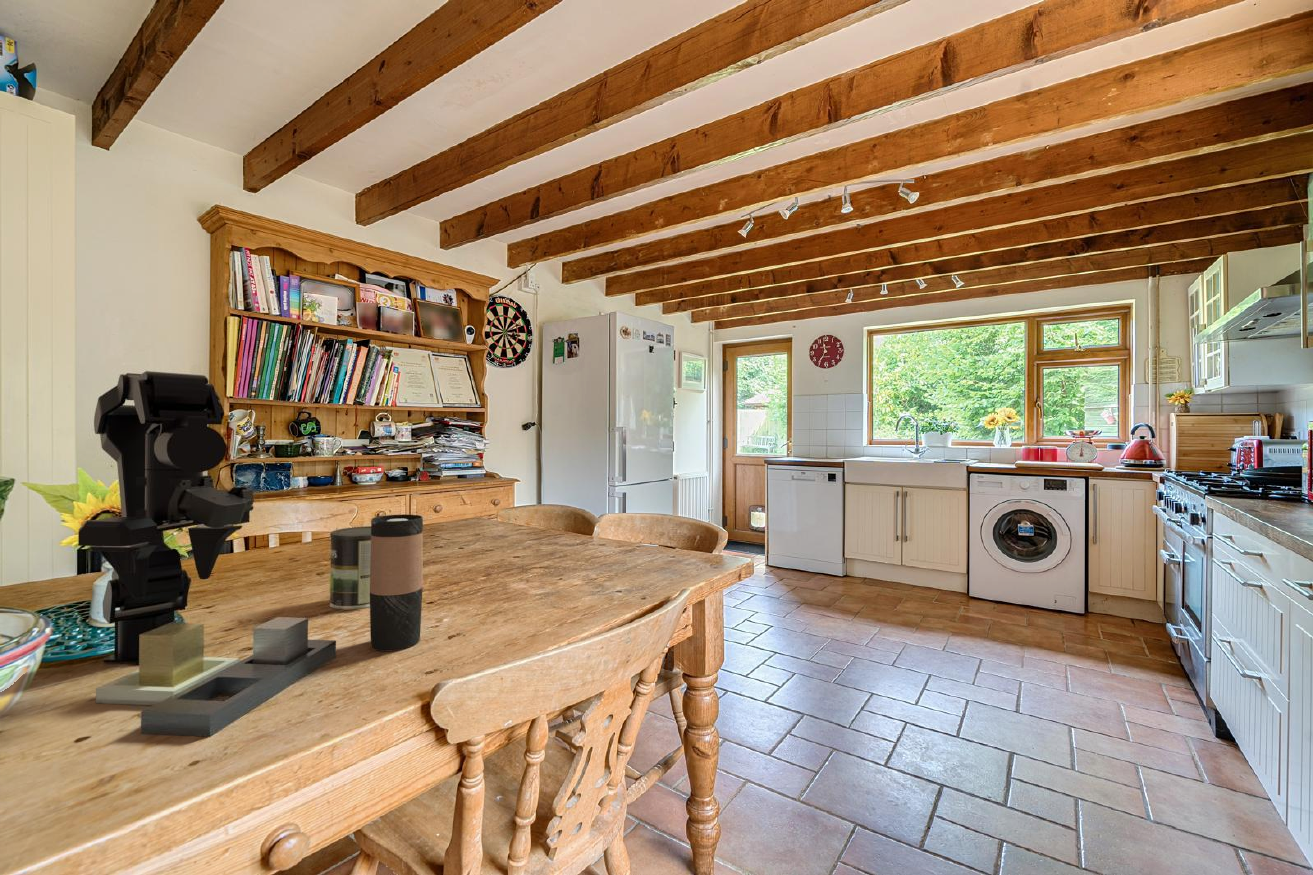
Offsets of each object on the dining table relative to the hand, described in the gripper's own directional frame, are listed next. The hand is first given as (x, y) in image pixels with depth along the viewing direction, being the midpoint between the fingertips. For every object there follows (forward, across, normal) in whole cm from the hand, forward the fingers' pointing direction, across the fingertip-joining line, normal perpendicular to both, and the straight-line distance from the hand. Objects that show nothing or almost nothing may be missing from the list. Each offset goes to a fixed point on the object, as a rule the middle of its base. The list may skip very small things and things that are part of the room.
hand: (173, 588), depth 73 cm
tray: (+13, 0, 0) cm, 13 cm away
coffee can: (+13, +37, -3) cm, 39 cm away
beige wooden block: (+12, 0, 0) cm, 12 cm away
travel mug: (+13, +17, -21) cm, 30 cm away
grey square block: (+13, +5, -11) cm, 18 cm away
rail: (+13, 0, -11) cm, 17 cm away
